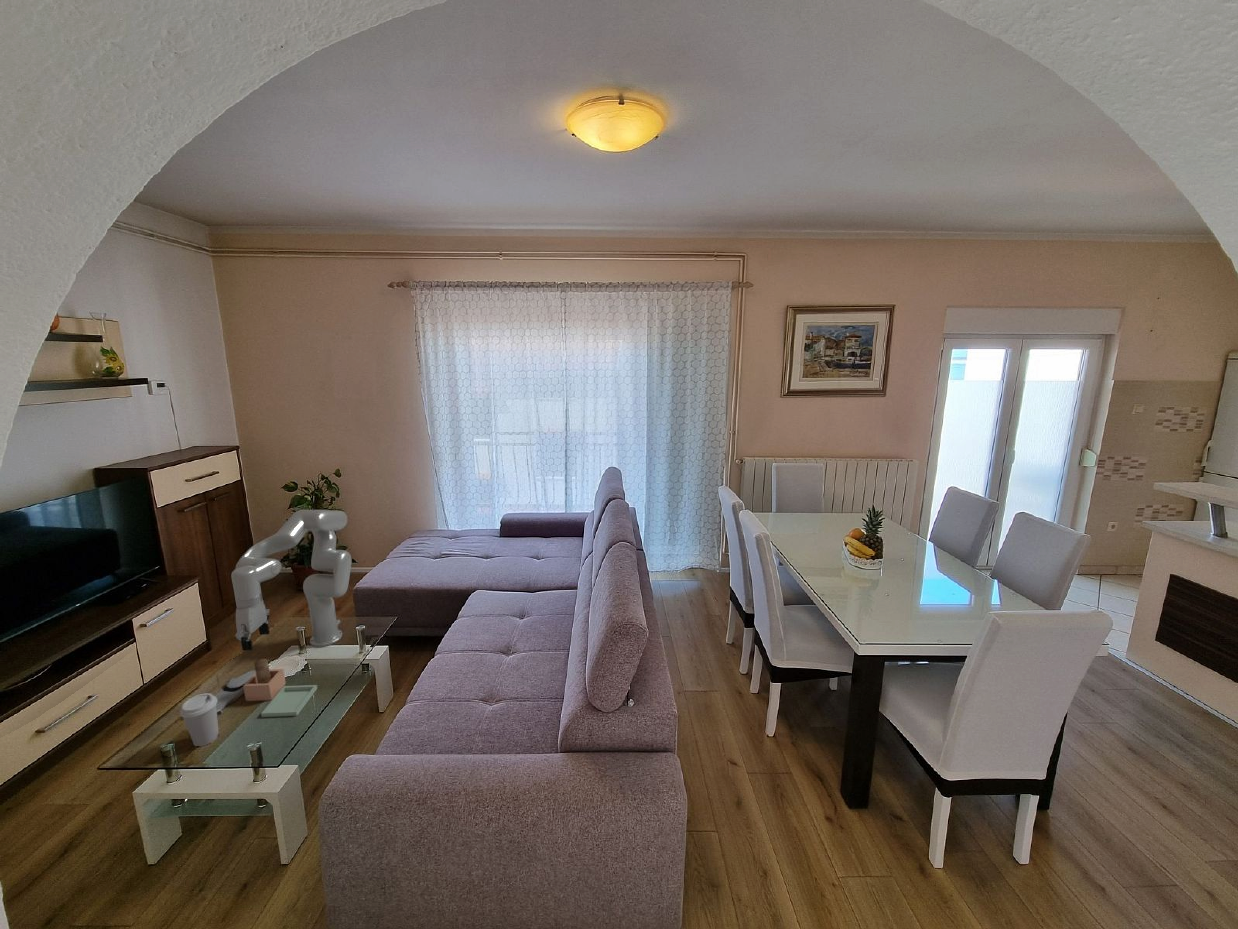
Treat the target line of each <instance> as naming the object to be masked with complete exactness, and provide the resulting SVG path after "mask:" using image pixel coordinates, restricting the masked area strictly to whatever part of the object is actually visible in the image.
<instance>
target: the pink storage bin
mask: <svg viewBox="0 0 1238 929" xmlns="http://www.w3.org/2000/svg"><path fill="white" fill-rule="evenodd" d="M269 671H270V677H271V680H270V681H269V683H264V684H258V681H257V676H256V673H255V674H254V675H253V676H252V677H251V678H250V679H249V680H248V681H247V682H246V684H245V685H244V686H243V688H244V693H243V694H244V697H245V701H246V702H254V701H255V702H257V701H258V702H259V701H272V700H273V699H274V697H275V696H276V695H277V694H278V693H279V691H280V690H281V689H282V688H283V687H284V686H286V682H287V681H286V678H285V671H284V668H276V669H274V668H273V669H270V668H269Z"/></svg>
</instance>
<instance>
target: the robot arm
mask: <svg viewBox="0 0 1238 929" xmlns="http://www.w3.org/2000/svg"><path fill="white" fill-rule="evenodd" d="M347 524H348V515H347V514H346V513H345V512H344V511H342V510H331V509H330V510H329V509H299V510H297V511H294V513H293V514H292V515H291V516H290V517H289V518H288V519H287V521H285V523H284V524H283V525H282V526H281V527H280V528H279V530H278V531H277V532H276V533H274V534H273V535H271V536H269V537H267V538H265V539H263V540H261V541H259V542H257V543H255V544H254V545H252V546H250V547H249V549H247V551H246V552H244V554H242V556H241V557H240V558H239V560H238V561H237V563H236V564H235V569H234V570H233V571H232V572H231V576H230V577H231V582H232V583H231V584H232V588H233V594H234V599H235V604H236V609H235V624H236V633H235V635H234V637H235V638H236V639H237V641H239V643H240V644H241V650H242V651H252V650H253V642H252V641H253V640H252V639H251V636H252V634H253V633H254V632H256V631H257V630H258V631H259V635H270V629H269V627H270V626H269V623H270V620H269V619H270V610H271V609H269V608H268V609H267V608H266V605H265V603H264V600H263V595H262V588H261V583H263V582H266V581H269V580H271V579H273V578H275V577H276V576H277V575H279V573H280V572H281V570H282V563H281V561H280V560H278V559H276V558H272V557H271V558H269V557H268V556H271V555H273V554H276V553H281V552H285V551H287V550H290V549H294V548H295V547H296V546H297V545H298V544H299V543H300V542H301V540H302V539H304V536H306V534H307V533H308V532H309V531H311V532H312V535H313V548H312V553H311V561H310V564H311V568H312V570H314V571H319V572H333V574H328V573H327V574H326V573H313V574H311V575H308V577H306V578H305V580H304V581H303V584H302V585H303V586H302V588H303V593H304V595H305V597H306V599H307V604H308V609H309V616H310V617H309V618H310V625H311V630H312V636H311V637H310V639H309V644H310V645H311V646H312V647H314V648H315V647H316V648H322V647H327V646H331V645H334V644H335V643H337V642H338V641H340V640H341V639H342V638H343V631H342V630H341V629H339V628H338V627H339V624H340V623H341V620H340V619H337V615H336V607H335V606H336V605H335V601H334V600H335V599H334V598H341V597H343V596H344V595H345V594H346V593H347V590H348V588H349V583H350V576H351V569H352V560H353V559H352V555H351V553H350V552H349V551H347V550H344V549H336V547H337V536H336V535H337V534H336V533H335V531H340V530H342V529H344V528H345V527H346V526H347ZM245 635H247V636H245Z"/></svg>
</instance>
